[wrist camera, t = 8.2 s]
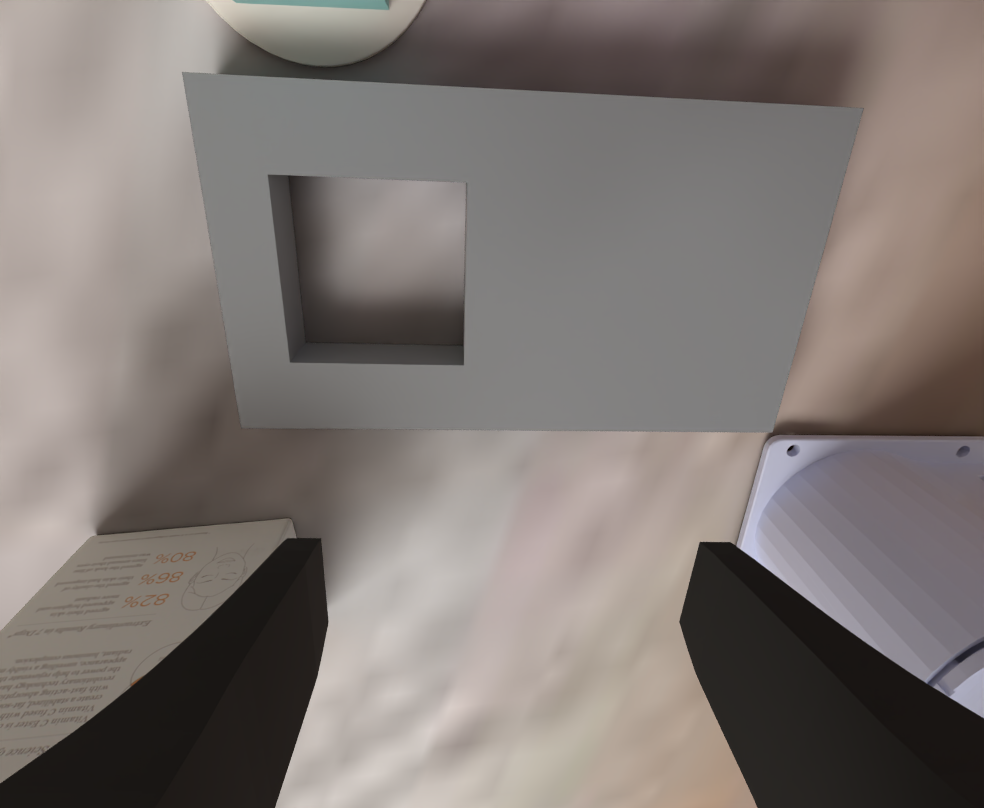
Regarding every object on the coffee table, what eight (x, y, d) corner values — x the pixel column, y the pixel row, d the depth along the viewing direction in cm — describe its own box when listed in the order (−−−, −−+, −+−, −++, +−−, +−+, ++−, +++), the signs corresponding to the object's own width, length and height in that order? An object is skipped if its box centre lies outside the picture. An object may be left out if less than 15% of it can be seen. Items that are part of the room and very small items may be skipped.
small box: (136, 635, 24) (-78, 956, 14) (89, 530, 22) (-202, 830, 12) (322, 618, 24) (234, 924, 15) (296, 513, 22) (172, 794, 12)
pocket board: (819, 112, 17) (863, 108, 15) (744, 408, 21) (772, 432, 19) (213, 81, 16) (181, 72, 14) (261, 402, 20) (241, 428, 18)
